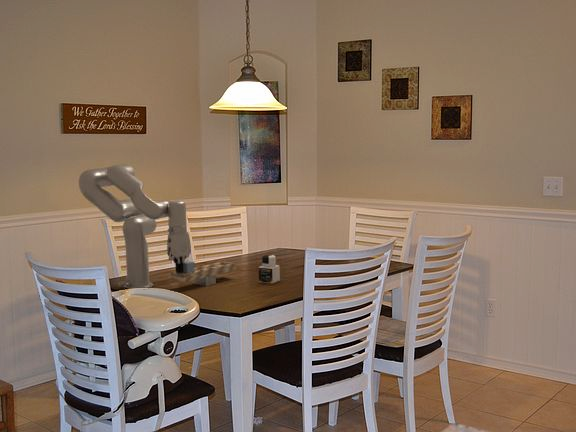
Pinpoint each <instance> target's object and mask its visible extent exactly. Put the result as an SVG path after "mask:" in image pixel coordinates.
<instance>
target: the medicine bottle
mask: <svg viewBox="0 0 576 432" xmlns="http://www.w3.org/2000/svg"><path fill="white" fill-rule="evenodd" d="M261 259H262V260H261V262H262V263H261V264H262V265H261V266H259V267H258V283H262V284H263V283H264V284H275V283H277V282H280V281H281V275H280V274H281V273H280V272H281V271H280V269H281V266H280V265H279V264H277V261H276V260H277V258H276V256H275V255H274V254H265V255H262V258H261Z"/></svg>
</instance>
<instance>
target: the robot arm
mask: <svg viewBox="0 0 576 432" xmlns="http://www.w3.org/2000/svg"><path fill="white" fill-rule="evenodd" d="M144 185H145V184H144V183H143V182H142V181H141V180H140V179H139V178H137V177H136V173H135V169H134V168H133V167H132V166H131V165H130V164H128V163H127V164H126V163H125V164H123V163H122V164H114V165H112V166H111V165H110V166H108V167H98V168H90V169H86V170H85V171H83V172H82V173H80V175H79V179H78V186H79V188H78V189H79V191H80V192H81V194H82V196H83V197H84V198H85V199H86V200H87V201H88V202H90V203H91V204H92V205H94V207H96V208H97V209H99V211H101V213H103V214H104V215H105V216H106V217H108V218H109V219H110V220H111V221H113V222H115V223H122V234H123V237H124V246H125V261H126V265H125V267H126V277H125V278H124V280H123V281H118V282H117V285H118V287H123V288H124V287H126V288H137V287H145V288H148V289H151V288H153V287H154V283H153V282H151V281H150V268H149V265H150V264H149V247H148V241H147V239H146V236H149V235H151V234H152V233H154V232H155V231H156V230H157V229H156V228H157V221H156V220H160V219H163V218H168V228H167V233H168V235H167V241H166V253H167V256H168V260H169V261H173V264H175V272H178V273H181V272H183V263H184V262H185V260H186V259H187V258H189V257H190V255H191V254H192V245H191V238H190V234H189V232H188V230H187V228H188V227H187V226H188V225H187V205H186V202H185V201H183V200H168V199H167V200H165V199H162V200H156V201H153V200H152V199H151V198H150V197H148V195H146V194H145V193H144V191H143V189H144ZM111 186H114V187H116V188H117V189H118V190H120V191H121V192H122V193H123V194H125V195H126V196H127V197H129V199H128V198H127V199H119V198H117V197H116V196H114V195H113V194H112V193H111V192H110V191H108V190H106V189H104V188H105V187H111ZM152 286H153V287H152ZM150 287H151V288H150Z"/></svg>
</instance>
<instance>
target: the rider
mask: <svg viewBox="0 0 576 432" xmlns="http://www.w3.org/2000/svg"><path fill="white" fill-rule="evenodd" d="M195 263H196V262H195V261H191V260H187V261H184V263H183V272H181V273H180V274H187V273H191V272H195V267H196V264H195Z"/></svg>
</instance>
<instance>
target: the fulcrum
mask: <svg viewBox="0 0 576 432" xmlns="http://www.w3.org/2000/svg"><path fill="white" fill-rule="evenodd" d="M216 279H217V275H213V276H209V277H204V278H200V279H196V280H193V284H194V285H198V286H199V285H200V286H204V287H208V286H212V285H216V284H217V282H216V281H217V280H216Z"/></svg>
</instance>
